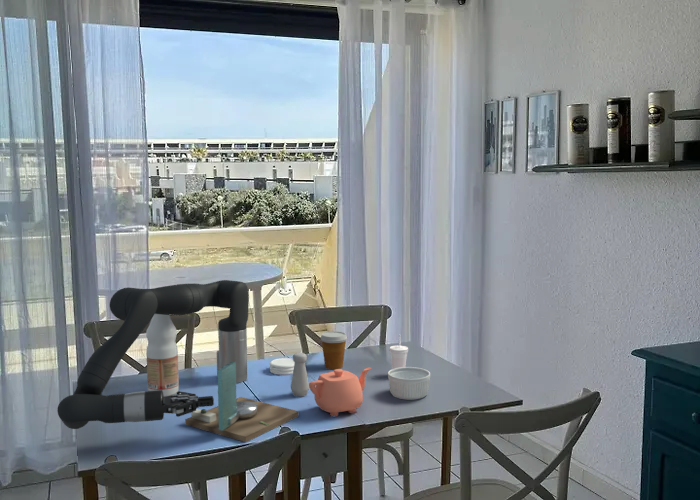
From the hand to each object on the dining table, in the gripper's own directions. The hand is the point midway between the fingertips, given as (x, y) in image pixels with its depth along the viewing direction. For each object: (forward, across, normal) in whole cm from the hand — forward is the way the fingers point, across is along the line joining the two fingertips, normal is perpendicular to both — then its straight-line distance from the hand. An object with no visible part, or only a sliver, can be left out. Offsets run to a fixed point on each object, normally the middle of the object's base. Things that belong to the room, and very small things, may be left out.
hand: (213, 400), depth 173 cm
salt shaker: (+27, +27, +10) cm, 39 cm away
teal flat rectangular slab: (+6, +5, +7) cm, 11 cm away
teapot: (+36, +11, +10) cm, 39 cm away
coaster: (+26, +53, +10) cm, 60 cm away
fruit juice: (-14, +39, +10) cm, 42 cm away
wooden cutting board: (+8, +9, +9) cm, 15 cm away
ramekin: (+60, +19, +10) cm, 64 cm away
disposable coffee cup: (+44, +53, +10) cm, 69 cm away
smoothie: (+63, +38, +10) cm, 74 cm away
